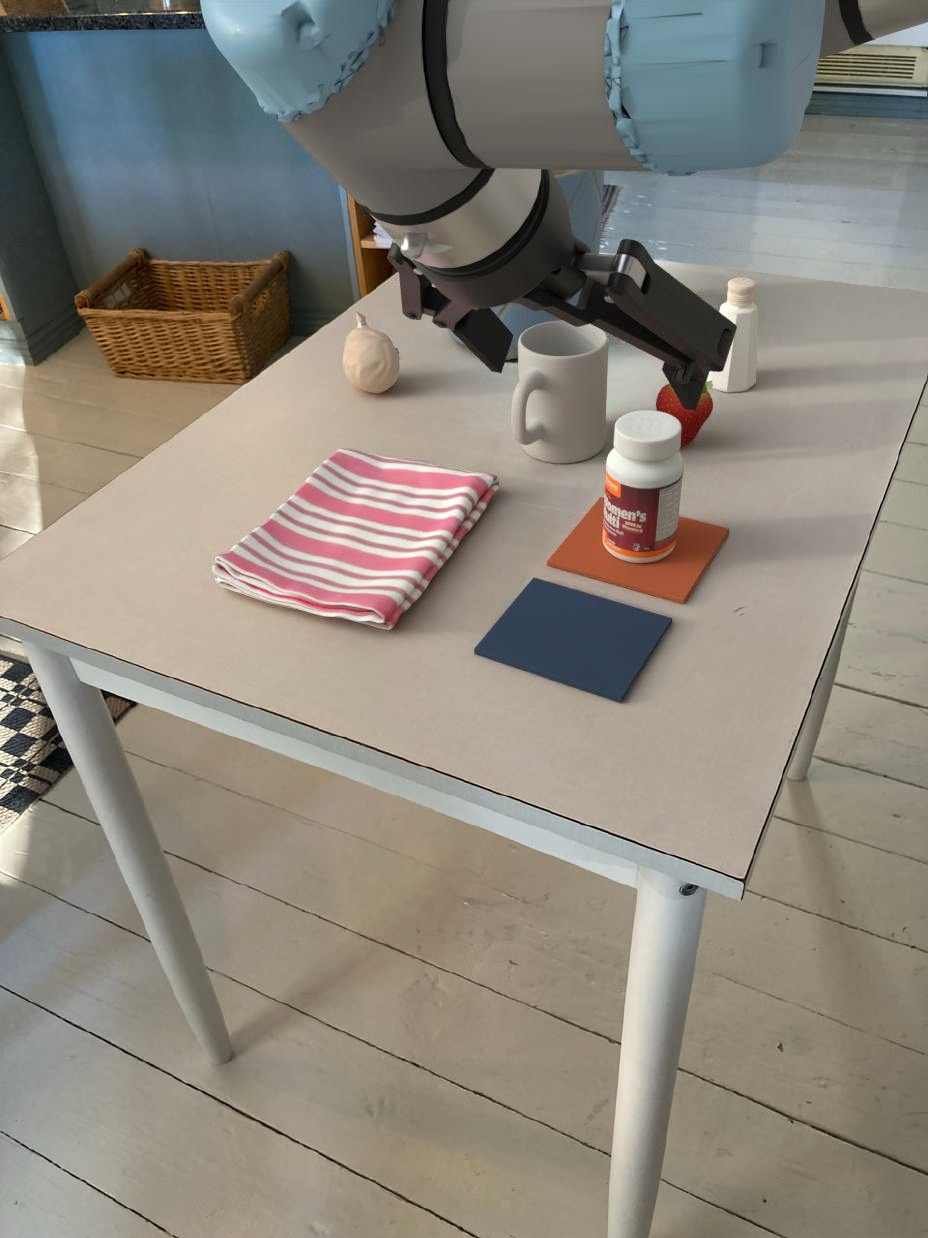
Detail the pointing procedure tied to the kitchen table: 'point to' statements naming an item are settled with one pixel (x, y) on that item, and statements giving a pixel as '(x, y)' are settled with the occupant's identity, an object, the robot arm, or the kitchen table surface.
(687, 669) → the kitchen table surface
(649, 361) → the kitchen table surface
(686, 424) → the fruit
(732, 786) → the kitchen table surface
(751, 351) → the pepper shaker
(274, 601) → the dish towel
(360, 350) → the garlic bulb
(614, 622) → the slate blue mat
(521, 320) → the planter
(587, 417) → the mug
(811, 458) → the kitchen table surface
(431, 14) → the robot arm
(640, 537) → the pill bottle
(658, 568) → the terracotta mat
